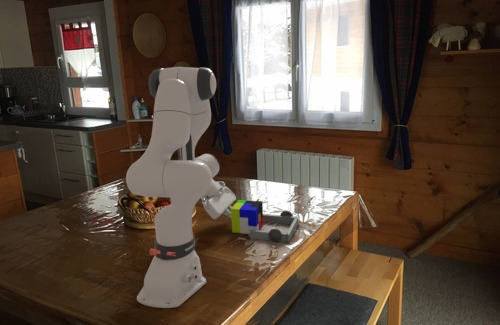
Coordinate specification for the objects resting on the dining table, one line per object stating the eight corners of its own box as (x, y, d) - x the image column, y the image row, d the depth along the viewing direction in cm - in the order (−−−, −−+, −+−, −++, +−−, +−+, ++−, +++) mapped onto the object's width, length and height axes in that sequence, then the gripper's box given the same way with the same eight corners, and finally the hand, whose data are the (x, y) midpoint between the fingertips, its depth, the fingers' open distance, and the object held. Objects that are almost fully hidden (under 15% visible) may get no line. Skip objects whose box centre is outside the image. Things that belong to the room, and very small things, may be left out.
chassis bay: (288, 243, 157) (288, 230, 156) (249, 239, 161) (248, 227, 160) (299, 222, 175) (298, 211, 173) (263, 219, 179) (263, 208, 178)
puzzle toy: (256, 234, 165) (255, 210, 163) (232, 232, 168) (231, 208, 166) (263, 224, 175) (262, 201, 172) (239, 222, 177) (238, 199, 175)
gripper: (205, 196, 162) (230, 222, 161) (224, 180, 180) (247, 203, 180) (195, 206, 164) (220, 232, 164) (215, 189, 183) (237, 212, 183)
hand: (234, 217), depth 172 cm, fingers closed
